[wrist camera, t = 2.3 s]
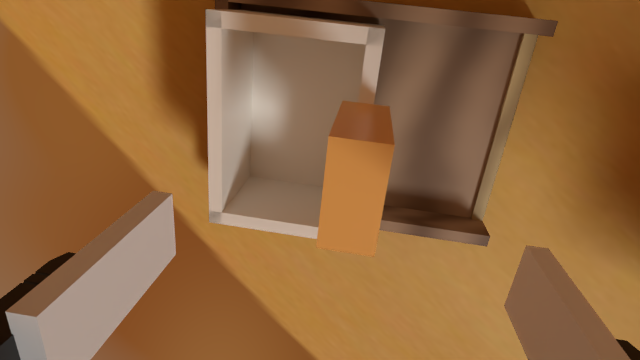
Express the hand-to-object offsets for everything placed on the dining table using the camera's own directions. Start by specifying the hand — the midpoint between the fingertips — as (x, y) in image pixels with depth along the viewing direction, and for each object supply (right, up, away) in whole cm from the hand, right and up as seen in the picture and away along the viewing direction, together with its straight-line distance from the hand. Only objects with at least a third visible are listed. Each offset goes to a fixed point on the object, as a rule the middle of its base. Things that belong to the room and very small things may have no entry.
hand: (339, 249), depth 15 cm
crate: (-1, +9, +19) cm, 21 cm away
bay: (+3, +8, +20) cm, 22 cm away
